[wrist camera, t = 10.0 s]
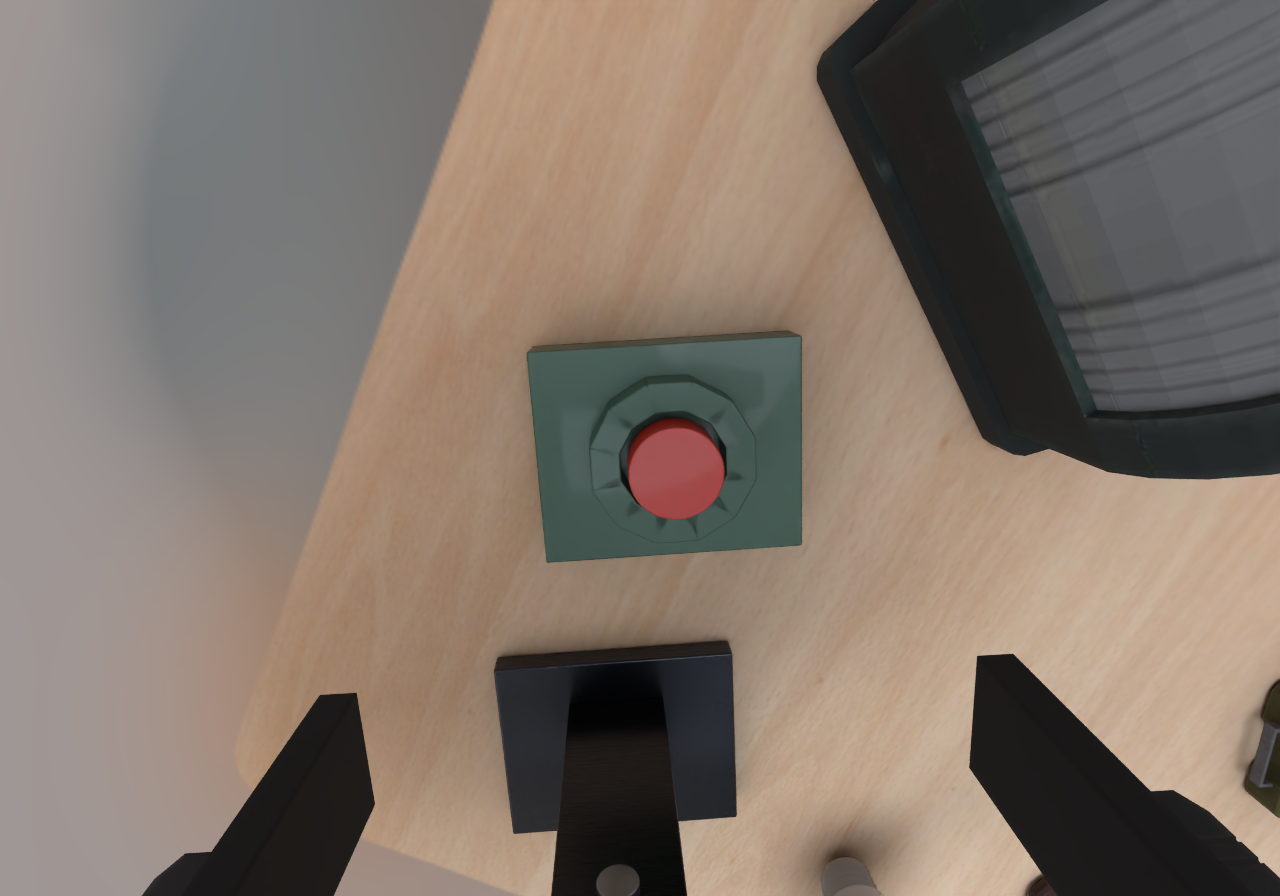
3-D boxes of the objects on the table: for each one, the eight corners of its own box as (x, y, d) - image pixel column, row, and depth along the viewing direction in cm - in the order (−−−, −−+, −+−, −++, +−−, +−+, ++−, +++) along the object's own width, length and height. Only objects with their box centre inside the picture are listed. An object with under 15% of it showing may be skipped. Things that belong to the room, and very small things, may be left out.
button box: (550, 543, 33) (542, 580, 30) (532, 346, 31) (521, 358, 27) (790, 527, 34) (813, 562, 30) (788, 330, 31) (813, 340, 28)
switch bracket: (515, 816, 37) (462, 1130, 24) (497, 656, 35) (426, 903, 21) (733, 800, 37) (801, 1102, 24) (728, 640, 35) (801, 874, 22)
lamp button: (630, 508, 29) (631, 523, 28) (624, 420, 28) (625, 430, 27) (719, 502, 29) (726, 516, 28) (716, 414, 29) (723, 424, 27)
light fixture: (1267, 611, 20) (974, -159, 15) (996, 466, 33) (799, 42, 29) (1914, 288, 18) (1814, -683, 13) (1350, 276, 32) (1203, -205, 27)
